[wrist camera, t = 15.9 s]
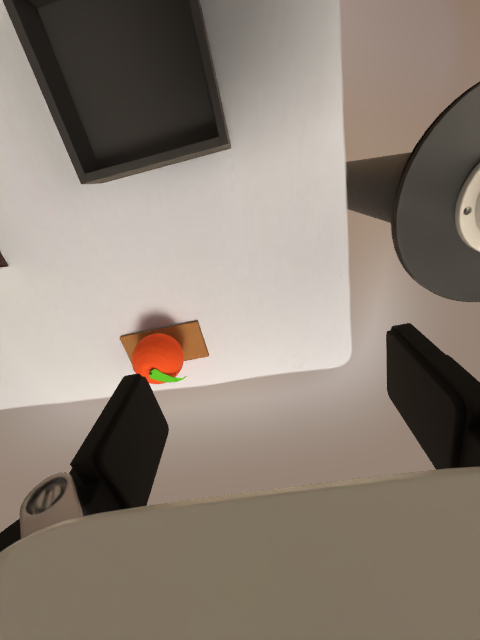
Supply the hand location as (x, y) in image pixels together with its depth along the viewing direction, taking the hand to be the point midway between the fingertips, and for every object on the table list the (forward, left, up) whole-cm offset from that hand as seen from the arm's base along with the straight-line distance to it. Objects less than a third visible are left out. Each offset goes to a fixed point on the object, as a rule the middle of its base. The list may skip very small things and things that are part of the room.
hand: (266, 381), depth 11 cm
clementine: (+16, +12, -28) cm, 34 cm away
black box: (+8, -18, -28) cm, 34 cm away
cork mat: (+16, +12, -28) cm, 35 cm away
